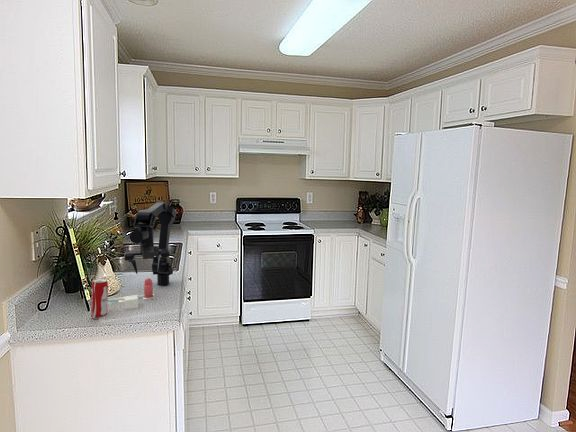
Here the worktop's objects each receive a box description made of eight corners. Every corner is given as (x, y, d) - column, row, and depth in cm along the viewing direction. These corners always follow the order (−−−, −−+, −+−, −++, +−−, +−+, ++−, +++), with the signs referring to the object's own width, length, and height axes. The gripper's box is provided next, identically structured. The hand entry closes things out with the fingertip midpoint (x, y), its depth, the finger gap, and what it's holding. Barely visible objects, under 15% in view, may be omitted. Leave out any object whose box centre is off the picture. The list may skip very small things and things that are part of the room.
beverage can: (89, 315, 153) (87, 279, 151) (107, 312, 157) (105, 277, 155) (92, 320, 149) (90, 283, 147) (110, 317, 153) (109, 280, 150)
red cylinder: (144, 295, 175) (144, 277, 173) (152, 294, 176) (152, 276, 174) (144, 297, 171) (143, 280, 170) (152, 297, 172) (152, 279, 171)
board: (106, 301, 169) (105, 299, 169) (153, 295, 177) (153, 293, 177) (105, 306, 164) (105, 303, 164) (155, 299, 172) (155, 297, 172)
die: (124, 307, 163) (124, 296, 162) (137, 306, 165) (136, 294, 164) (125, 312, 158) (124, 300, 157) (138, 310, 160) (137, 298, 160)
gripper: (124, 244, 159) (126, 280, 161) (171, 240, 167) (171, 275, 169) (123, 238, 169) (124, 273, 171) (167, 236, 176) (168, 269, 179)
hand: (147, 272), depth 172 cm, fingers open, 9 cm apart
